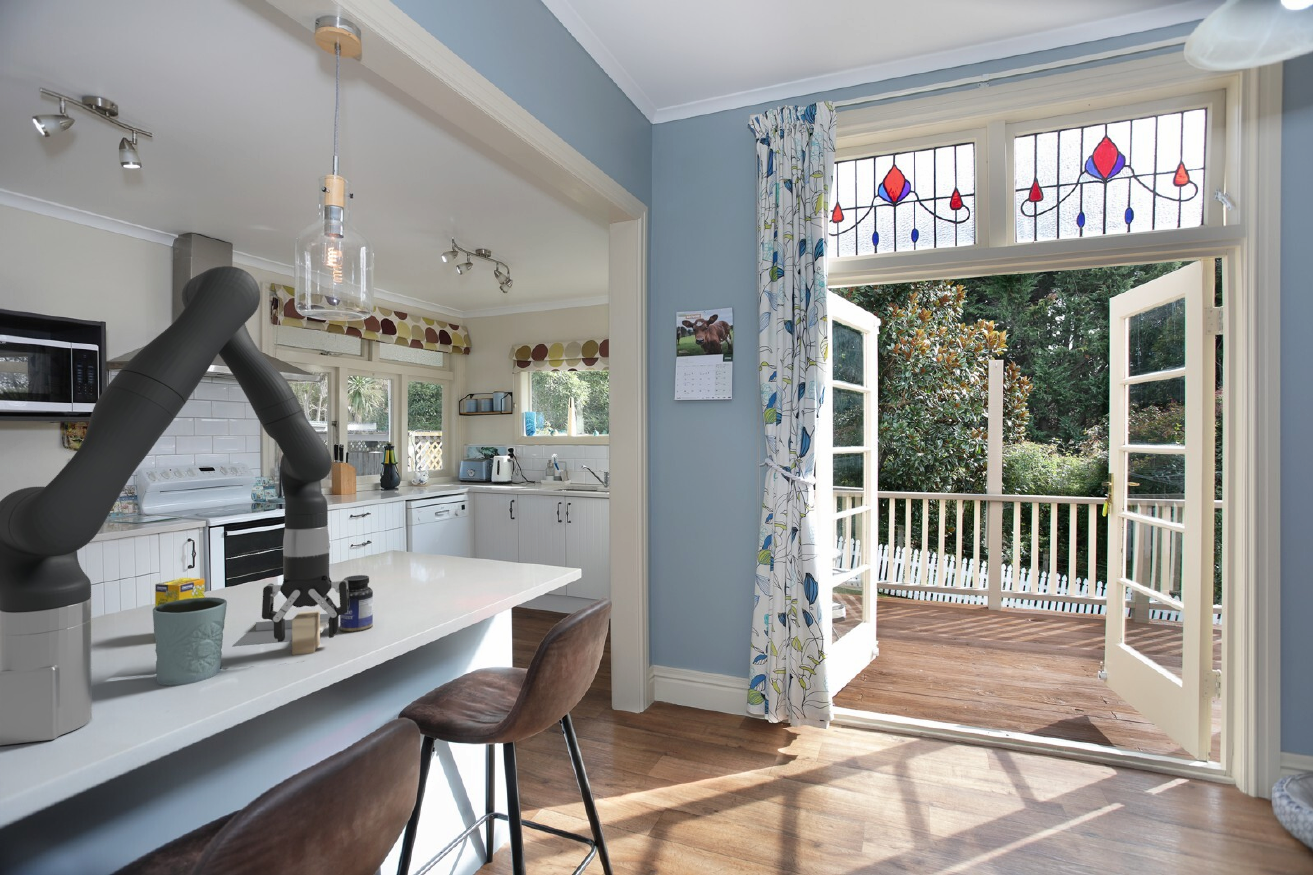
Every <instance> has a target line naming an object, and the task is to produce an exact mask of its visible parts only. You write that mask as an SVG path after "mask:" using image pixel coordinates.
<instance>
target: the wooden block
mask: <svg viewBox="0 0 1313 875" xmlns="http://www.w3.org/2000/svg"><path fill="white" fill-rule="evenodd" d="M320 614H321V610H315V611H310V612H299V613H298V614H297V615H296V616H295V617H294V618H293V619H292V641H291V643H292V650H291V651H292V652H291V654H292V656H294V655H295V656H296V655H306V654H314V653H315V652H316V651H317V650H318V648H319V647H320V645H321V634H322V633H323V632H324V630H325V629H326V628H327V626H329V619H321V620H320Z"/></svg>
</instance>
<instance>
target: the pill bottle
mask: <svg viewBox="0 0 1313 875" xmlns="http://www.w3.org/2000/svg"><path fill="white" fill-rule="evenodd" d="M344 579H346V580H348V586H349V604H350V608H349V610H348V611H347V613H345V614H341V615H339V631H340V632H341V633H346V634H348V633H349V634H351V633H359V632H365V631H368V630H370V629H372V628H374V625H373V624H374V620H373V618H374V616H373V615H374V614H373V613H374V612H373V611H374V610H373V608H374V607H373V606H374V604H373V603H374V600H373V598H374V594H373V593H374V590H373V588H371V587H369V583H370V577H369V576H368V575H365V574H361V575H360V574H357V575H350V576H347V577H344V578H343V580H344Z"/></svg>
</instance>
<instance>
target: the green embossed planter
mask: <svg viewBox="0 0 1313 875" xmlns="http://www.w3.org/2000/svg"><path fill="white" fill-rule="evenodd" d="M227 604H228V602H227V599H225V598H221V597H211V596H209V597H208V596H207V597H203V598H191V599H184V600H177V601H172V602H168V603H164V604H161V605H158V606H156V607H153V608H152V620H153V635H154V641H155V649H154V650H155V654H156V661H155V668H156V669H155V670H156V681H157V684H159V685H163V686H182V685H188V684H194V683H198V682H201V681H204V680H207V679H210V678H213V677H214V676H216V675H218V674H219V673H220V670H221V665H222V657H223V656H222V655H223V653H222V648H223V639H224V633H223V631H224V629H225V620H226V615H227V614H226V613H227V607H228V605H227Z"/></svg>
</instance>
